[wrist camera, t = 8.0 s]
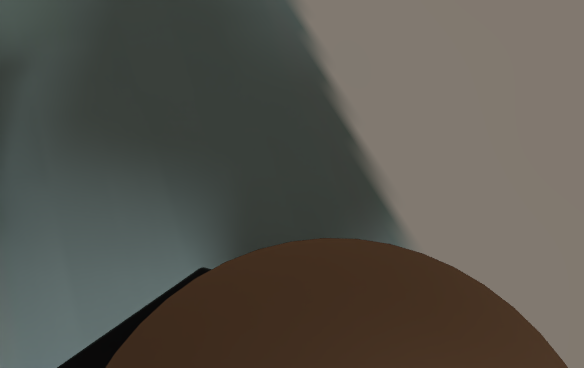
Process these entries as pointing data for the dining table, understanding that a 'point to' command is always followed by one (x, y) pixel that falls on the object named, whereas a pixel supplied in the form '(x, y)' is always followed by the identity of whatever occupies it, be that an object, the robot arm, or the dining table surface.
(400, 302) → the walnut pawn
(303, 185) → the dining table surface
